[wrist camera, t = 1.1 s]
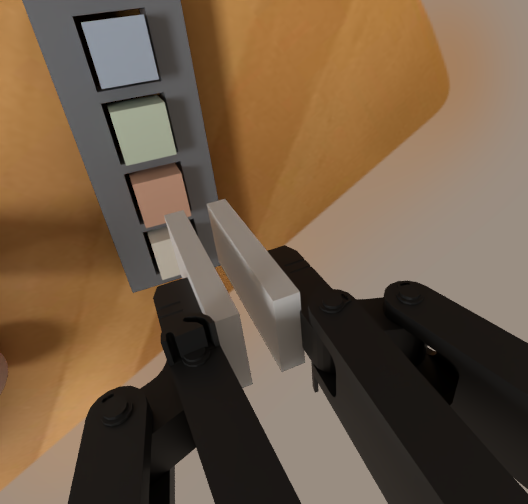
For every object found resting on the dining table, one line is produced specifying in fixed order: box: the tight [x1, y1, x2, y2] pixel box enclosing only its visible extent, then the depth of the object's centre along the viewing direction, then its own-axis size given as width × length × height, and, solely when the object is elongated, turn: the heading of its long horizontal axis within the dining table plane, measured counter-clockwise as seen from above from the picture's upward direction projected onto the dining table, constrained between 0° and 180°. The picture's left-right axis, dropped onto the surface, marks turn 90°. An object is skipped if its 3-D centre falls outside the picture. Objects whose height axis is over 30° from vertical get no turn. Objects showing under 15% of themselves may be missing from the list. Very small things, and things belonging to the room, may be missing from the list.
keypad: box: [22, 0, 221, 293], centre depth 34 cm, size 10×24×3 cm, turn 7°
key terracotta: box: [129, 163, 191, 228], centre depth 34 cm, size 4×4×4 cm
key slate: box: [81, 14, 159, 89], centre depth 28 cm, size 4×4×4 cm
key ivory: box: [147, 226, 194, 280], centre depth 37 cm, size 4×4×4 cm
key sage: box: [107, 95, 177, 166], centre depth 31 cm, size 4×4×4 cm
